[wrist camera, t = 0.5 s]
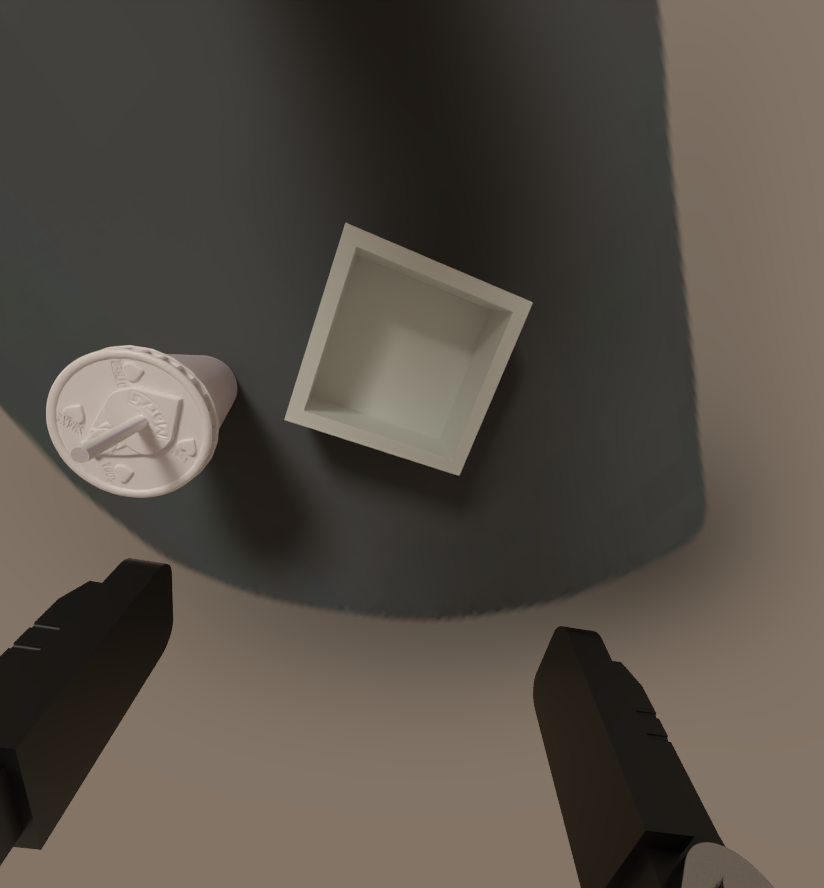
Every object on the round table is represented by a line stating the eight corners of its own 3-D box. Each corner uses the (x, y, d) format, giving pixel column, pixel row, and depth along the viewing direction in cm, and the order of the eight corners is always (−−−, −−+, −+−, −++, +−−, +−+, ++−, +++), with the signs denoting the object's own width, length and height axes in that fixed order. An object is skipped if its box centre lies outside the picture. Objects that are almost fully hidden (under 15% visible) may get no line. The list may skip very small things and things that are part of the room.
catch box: (347, 237, 26) (345, 222, 21) (503, 302, 28) (533, 302, 23) (296, 400, 28) (284, 419, 24) (443, 449, 30) (459, 476, 26)
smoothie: (280, 406, 28) (213, 497, 15) (192, 454, 29) (49, 584, 15) (220, 312, 26) (81, 321, 13) (126, 364, 27) (-105, 425, 13)
